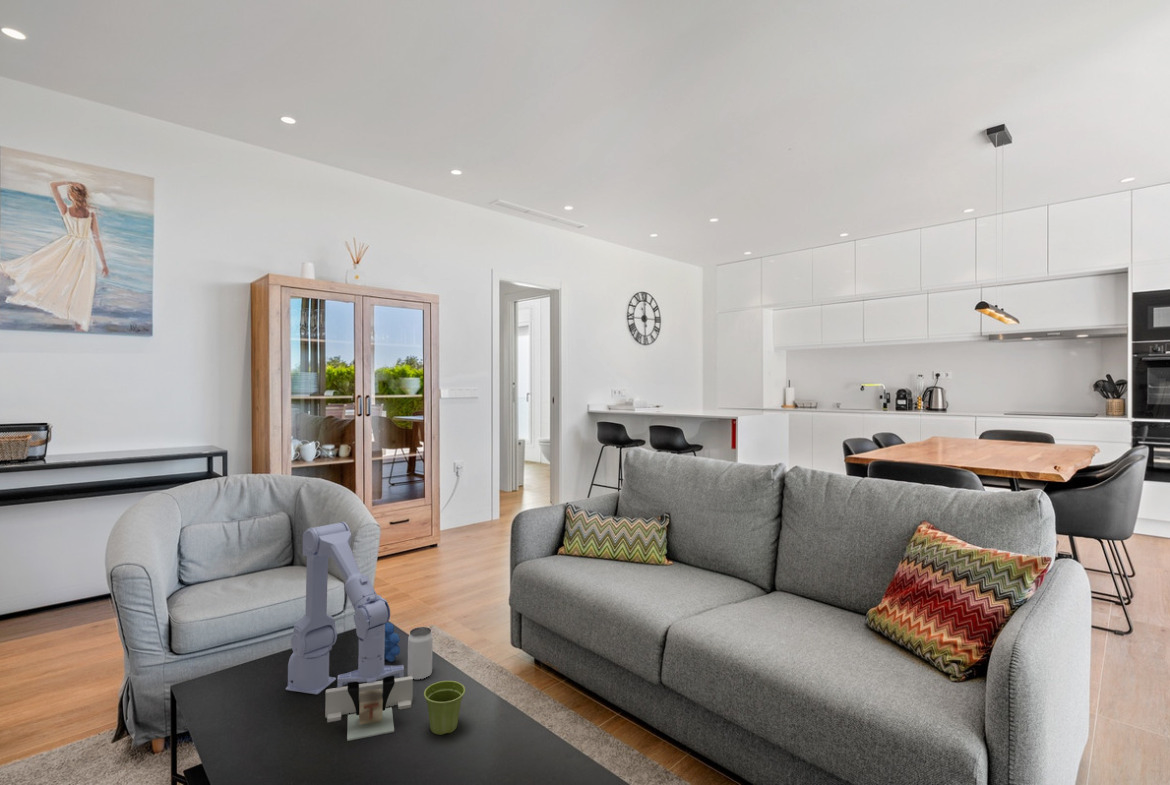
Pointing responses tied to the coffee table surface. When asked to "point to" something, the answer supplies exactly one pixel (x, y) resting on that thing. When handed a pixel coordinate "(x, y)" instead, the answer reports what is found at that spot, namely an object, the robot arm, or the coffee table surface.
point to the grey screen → (343, 703)
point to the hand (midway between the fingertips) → (370, 710)
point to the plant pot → (444, 705)
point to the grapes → (391, 643)
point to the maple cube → (370, 706)
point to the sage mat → (370, 726)
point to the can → (420, 653)
